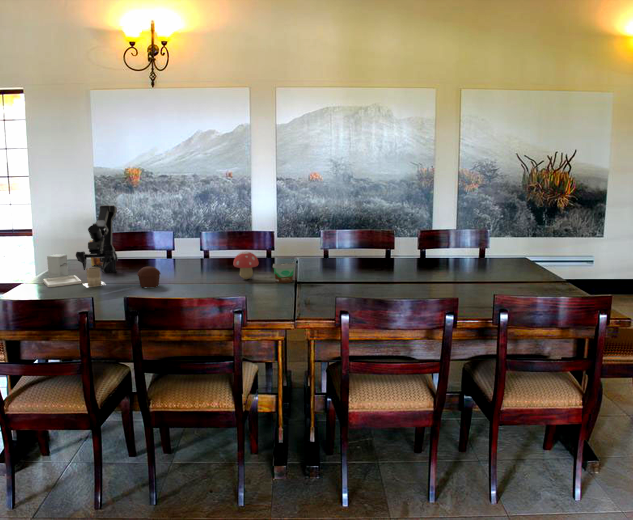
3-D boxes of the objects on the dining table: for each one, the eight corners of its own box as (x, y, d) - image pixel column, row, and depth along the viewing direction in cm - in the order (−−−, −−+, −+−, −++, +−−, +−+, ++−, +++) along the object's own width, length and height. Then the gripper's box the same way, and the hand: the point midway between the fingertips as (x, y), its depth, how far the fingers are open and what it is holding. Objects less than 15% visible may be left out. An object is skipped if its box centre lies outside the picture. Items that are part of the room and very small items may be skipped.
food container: (277, 284, 295) (277, 265, 293) (272, 282, 301) (272, 263, 299) (299, 282, 301) (298, 263, 299) (294, 279, 306) (293, 261, 304)
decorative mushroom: (234, 282, 300) (233, 254, 298) (233, 277, 313) (232, 250, 311) (259, 281, 302) (259, 253, 300) (258, 276, 315) (257, 249, 313)
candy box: (107, 263, 353) (105, 239, 350) (106, 265, 348) (104, 240, 346) (92, 264, 350) (89, 239, 347) (91, 266, 346) (89, 241, 343)
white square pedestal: (102, 282, 303) (101, 271, 302) (106, 285, 295) (106, 275, 294) (82, 284, 297) (81, 274, 296) (86, 288, 289) (85, 277, 288)
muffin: (165, 284, 298) (164, 265, 296) (154, 289, 287) (153, 269, 285) (144, 283, 300) (143, 264, 298) (133, 288, 290) (131, 268, 288)
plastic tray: (75, 278, 311) (75, 275, 311) (81, 284, 298) (81, 280, 298) (43, 282, 303) (42, 279, 302) (48, 288, 290) (47, 284, 289)
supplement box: (60, 279, 310) (58, 256, 308) (48, 279, 311) (46, 256, 309) (69, 276, 317) (67, 254, 315) (57, 276, 319) (55, 253, 316)
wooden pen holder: (96, 282, 300) (95, 266, 299) (102, 284, 296) (101, 268, 295) (85, 284, 296) (84, 268, 294) (92, 286, 292) (90, 270, 290)
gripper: (75, 236, 296) (70, 261, 287) (112, 235, 298) (108, 260, 289) (80, 248, 305) (76, 273, 297) (116, 247, 307) (113, 272, 299)
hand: (93, 269), depth 295 cm, fingers open, 9 cm apart
